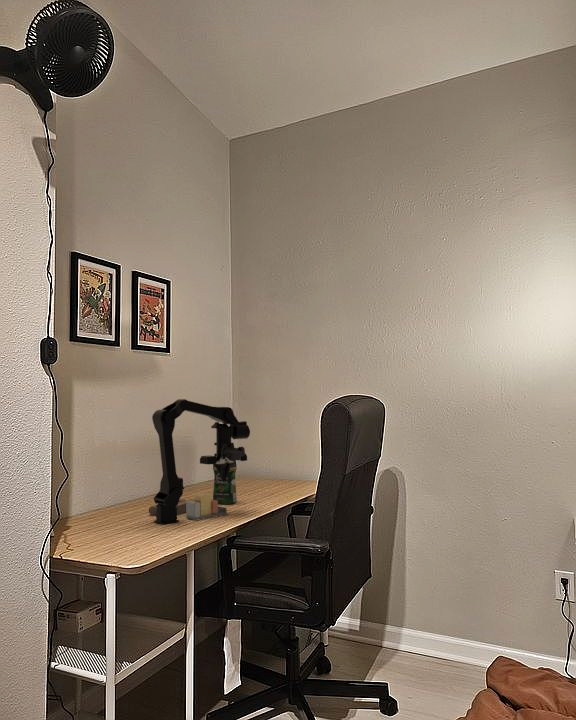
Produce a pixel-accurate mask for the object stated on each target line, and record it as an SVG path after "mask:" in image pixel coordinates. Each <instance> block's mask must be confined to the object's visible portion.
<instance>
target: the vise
mask: <svg viewBox="0 0 576 720" xmlns="http://www.w3.org/2000/svg"><path fill="white" fill-rule="evenodd" d="M227 512H228V507H225V506H224V507H223V506H219V505H218V513H212V514H209V515H203V516H200V503H199V502H195V501H186V513H185V518H186V519H188V518H190V519H189V520H192V519H194V520H193V521H198V520H197V519H200V520H204V519H203V518H206V519H210V518H209V517H212V518H215V517H214V516H218V517H221V516H220V515H223V516H227V515H228V513H227Z"/></svg>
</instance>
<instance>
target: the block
mask: <svg viewBox="0 0 576 720" xmlns="http://www.w3.org/2000/svg"><path fill="white" fill-rule="evenodd" d="M193 496H194V499H193V500H194V501H195V502H199V503H200V516H203V515H209V514H212V500H213V494H210V493H202V494H201V493H200V494H194V495H193Z"/></svg>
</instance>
